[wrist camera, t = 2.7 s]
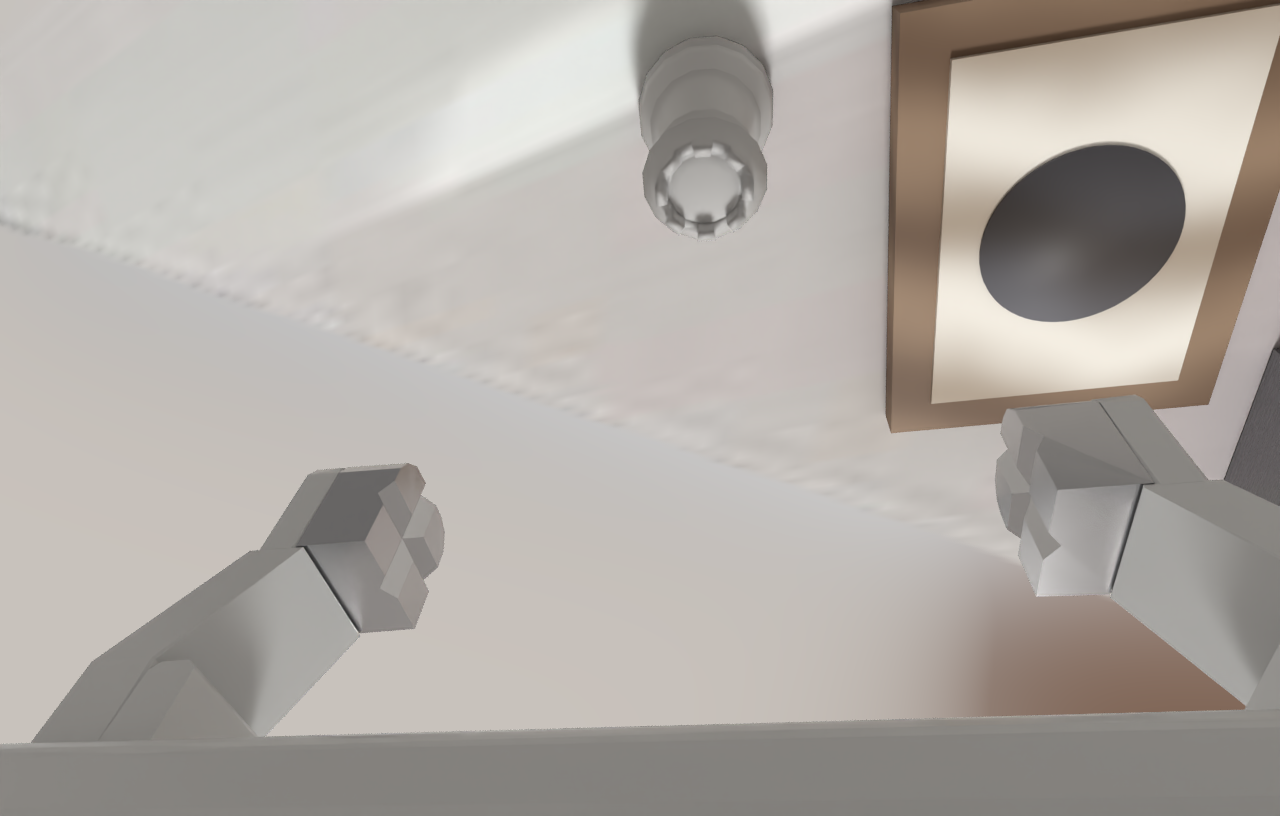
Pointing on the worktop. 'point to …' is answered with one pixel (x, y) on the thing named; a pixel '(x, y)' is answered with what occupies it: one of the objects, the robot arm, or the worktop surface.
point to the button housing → (1261, 440)
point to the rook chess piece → (705, 136)
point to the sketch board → (1073, 199)
